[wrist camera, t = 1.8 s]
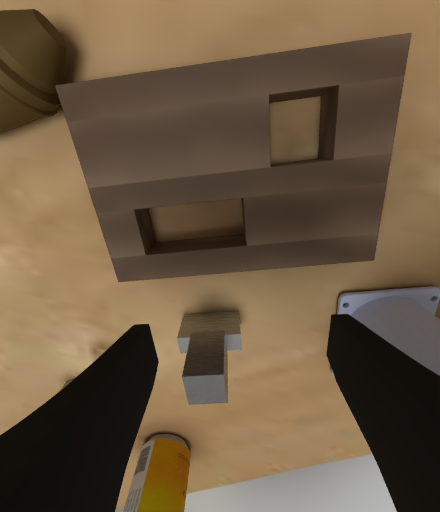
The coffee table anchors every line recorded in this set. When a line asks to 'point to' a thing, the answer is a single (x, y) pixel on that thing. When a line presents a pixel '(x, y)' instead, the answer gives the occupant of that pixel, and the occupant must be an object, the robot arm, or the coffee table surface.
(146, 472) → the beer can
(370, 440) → the robot arm
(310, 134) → the coffee table surface
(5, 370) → the coffee table surface
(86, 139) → the stand
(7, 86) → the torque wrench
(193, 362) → the gray t-shaped block
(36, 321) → the coffee table surface
